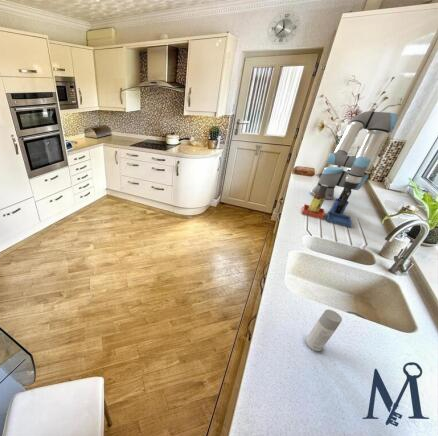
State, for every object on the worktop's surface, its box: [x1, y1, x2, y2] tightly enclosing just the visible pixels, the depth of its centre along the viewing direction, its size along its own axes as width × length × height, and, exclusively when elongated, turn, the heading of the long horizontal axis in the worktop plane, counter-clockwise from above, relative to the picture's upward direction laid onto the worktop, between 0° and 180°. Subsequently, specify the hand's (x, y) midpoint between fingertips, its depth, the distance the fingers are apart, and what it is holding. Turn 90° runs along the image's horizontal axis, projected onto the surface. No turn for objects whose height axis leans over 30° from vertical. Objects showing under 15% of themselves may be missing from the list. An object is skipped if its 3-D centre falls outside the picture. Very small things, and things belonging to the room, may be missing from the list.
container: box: [305, 309, 343, 353], centre depth 74 cm, size 5×5×15 cm
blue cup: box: [329, 198, 350, 215], centre depth 161 cm, size 8×8×9 cm
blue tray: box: [326, 210, 353, 228], centre depth 152 cm, size 12×12×2 cm
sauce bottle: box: [308, 184, 328, 214], centre depth 156 cm, size 6×6×20 cm
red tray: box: [301, 203, 325, 220], centre depth 160 cm, size 12×12×2 cm
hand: (336, 212), depth 163 cm, fingers closed on blue cup, 8 cm apart
